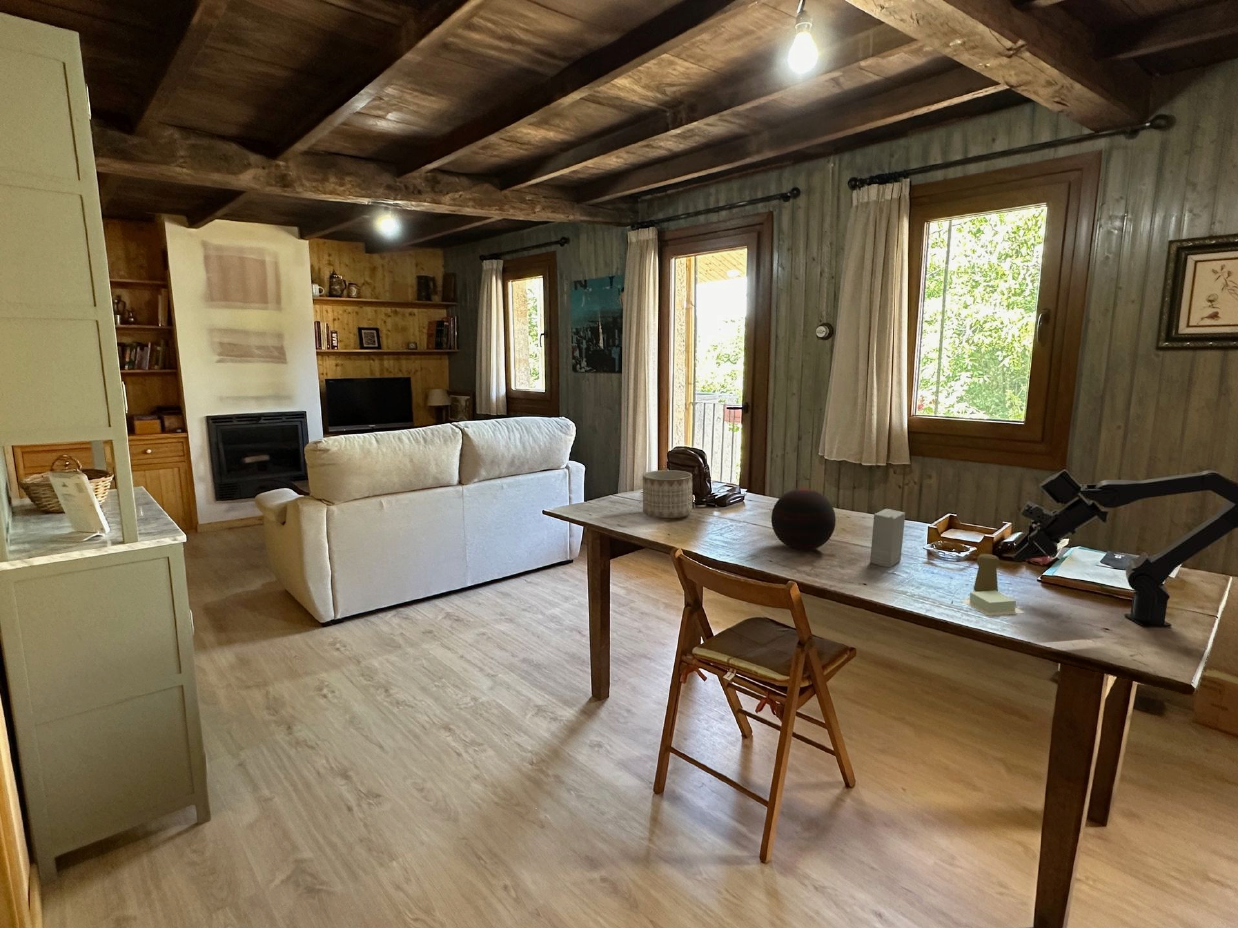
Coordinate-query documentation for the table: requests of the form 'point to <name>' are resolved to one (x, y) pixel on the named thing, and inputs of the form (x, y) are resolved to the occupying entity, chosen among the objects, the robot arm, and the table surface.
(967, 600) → the tower slab
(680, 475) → the planter
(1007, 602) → the tower block
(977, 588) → the olive pawn shaped peg
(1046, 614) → the table surface
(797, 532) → the decorative orb
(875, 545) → the skincare box
